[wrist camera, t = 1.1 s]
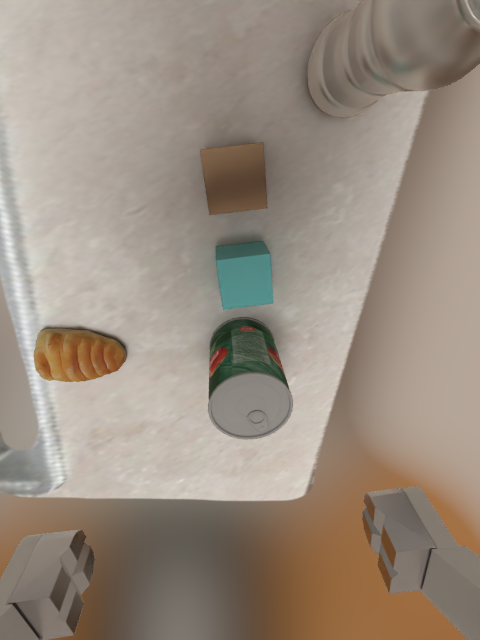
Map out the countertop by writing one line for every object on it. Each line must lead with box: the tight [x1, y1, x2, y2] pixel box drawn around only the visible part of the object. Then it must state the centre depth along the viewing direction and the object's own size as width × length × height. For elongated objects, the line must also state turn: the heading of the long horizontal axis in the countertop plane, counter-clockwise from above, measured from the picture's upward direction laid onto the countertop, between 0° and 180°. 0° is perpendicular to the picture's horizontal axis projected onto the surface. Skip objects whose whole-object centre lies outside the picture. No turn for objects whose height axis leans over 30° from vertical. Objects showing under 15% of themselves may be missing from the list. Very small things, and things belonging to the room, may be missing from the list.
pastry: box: [34, 328, 126, 382], centre depth 37 cm, size 9×7×4 cm
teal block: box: [216, 241, 273, 310], centre depth 33 cm, size 5×5×5 cm
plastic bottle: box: [307, 0, 480, 118], centre depth 19 cm, size 6×7×20 cm
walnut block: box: [200, 142, 267, 215], centre depth 29 cm, size 5×5×5 cm
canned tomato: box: [208, 318, 293, 439], centre depth 35 cm, size 8×8×11 cm
